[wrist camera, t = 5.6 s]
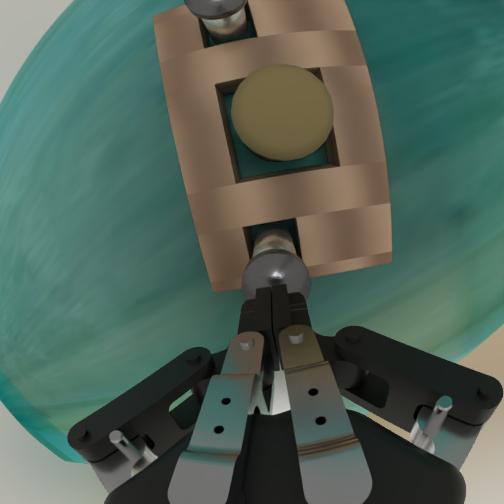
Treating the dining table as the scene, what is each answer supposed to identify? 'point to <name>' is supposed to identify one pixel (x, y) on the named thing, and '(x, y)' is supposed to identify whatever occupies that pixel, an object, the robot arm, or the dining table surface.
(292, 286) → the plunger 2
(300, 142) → the cork
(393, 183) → the dining table surface
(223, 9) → the plunger
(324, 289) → the dining table surface
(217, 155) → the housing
